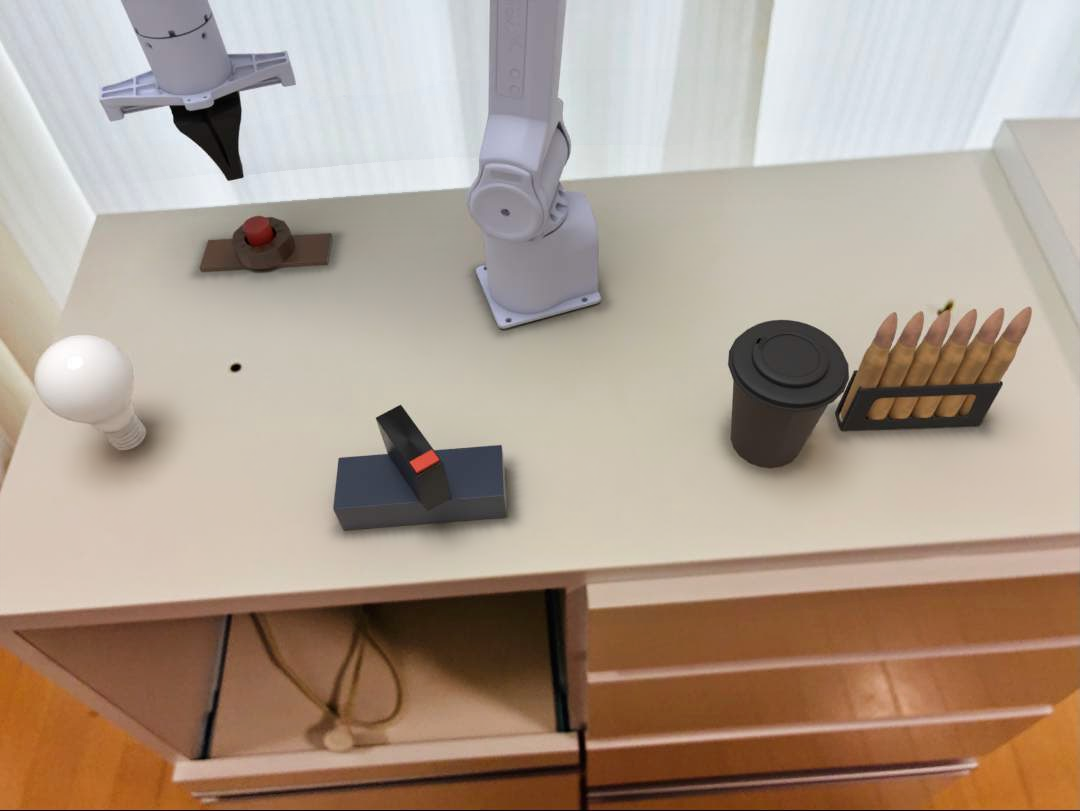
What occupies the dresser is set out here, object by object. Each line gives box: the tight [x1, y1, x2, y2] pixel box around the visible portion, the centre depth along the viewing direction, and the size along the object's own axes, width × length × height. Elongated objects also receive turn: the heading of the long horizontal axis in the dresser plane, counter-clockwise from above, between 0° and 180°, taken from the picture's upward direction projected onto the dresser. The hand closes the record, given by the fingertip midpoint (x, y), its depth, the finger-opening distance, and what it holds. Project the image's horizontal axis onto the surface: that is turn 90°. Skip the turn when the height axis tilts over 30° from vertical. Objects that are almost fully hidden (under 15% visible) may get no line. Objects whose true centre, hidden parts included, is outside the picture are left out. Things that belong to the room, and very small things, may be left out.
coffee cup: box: [727, 319, 850, 469], centre depth 59 cm, size 8×8×10 cm
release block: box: [199, 216, 333, 273], centre depth 78 cm, size 12×5×2 cm, turn 92°
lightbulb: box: [33, 334, 147, 451], centre depth 62 cm, size 6×6×11 cm
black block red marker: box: [375, 404, 452, 512], centre depth 57 cm, size 6×2×5 cm, turn 34°
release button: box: [242, 215, 274, 246], centre depth 77 cm, size 2×2×2 cm
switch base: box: [332, 444, 508, 531], centre depth 60 cm, size 12×4×3 cm, turn 94°
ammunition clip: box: [834, 306, 1033, 432], centre depth 59 cm, size 11×2×12 cm, turn 91°
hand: (235, 173), depth 71 cm, fingers closed
